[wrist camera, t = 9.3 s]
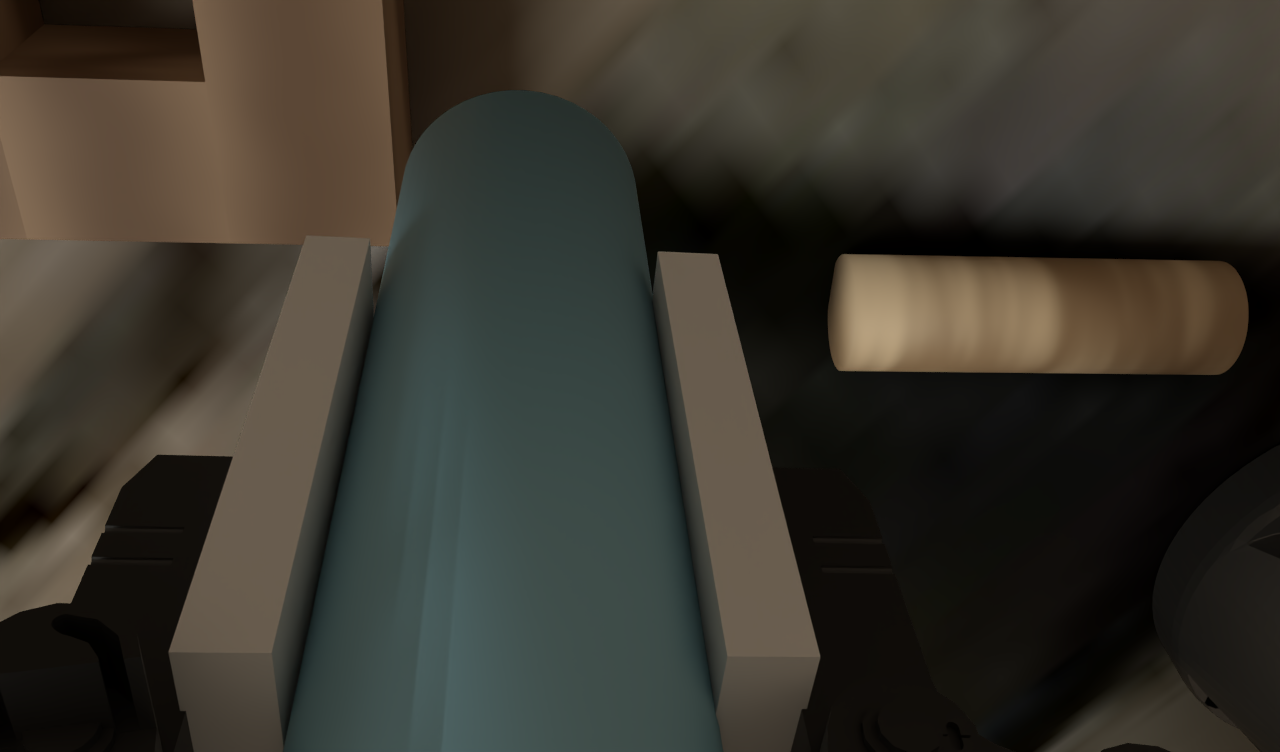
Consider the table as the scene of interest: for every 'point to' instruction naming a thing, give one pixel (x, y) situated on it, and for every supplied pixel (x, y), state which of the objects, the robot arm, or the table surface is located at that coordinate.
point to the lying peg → (1035, 315)
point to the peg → (510, 468)
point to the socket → (206, 124)
